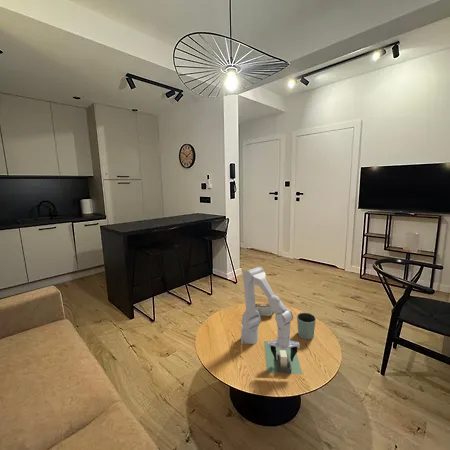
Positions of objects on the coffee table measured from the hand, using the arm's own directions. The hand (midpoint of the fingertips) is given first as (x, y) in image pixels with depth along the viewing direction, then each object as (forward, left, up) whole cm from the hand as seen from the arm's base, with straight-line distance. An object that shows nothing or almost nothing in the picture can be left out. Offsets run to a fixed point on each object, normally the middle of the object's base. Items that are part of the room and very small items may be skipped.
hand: (283, 359), depth 118 cm
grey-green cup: (+16, +24, -4) cm, 29 cm away
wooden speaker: (-7, +44, -4) cm, 45 cm away
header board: (0, +6, -4) cm, 7 cm away
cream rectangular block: (0, 0, -3) cm, 3 cm away
